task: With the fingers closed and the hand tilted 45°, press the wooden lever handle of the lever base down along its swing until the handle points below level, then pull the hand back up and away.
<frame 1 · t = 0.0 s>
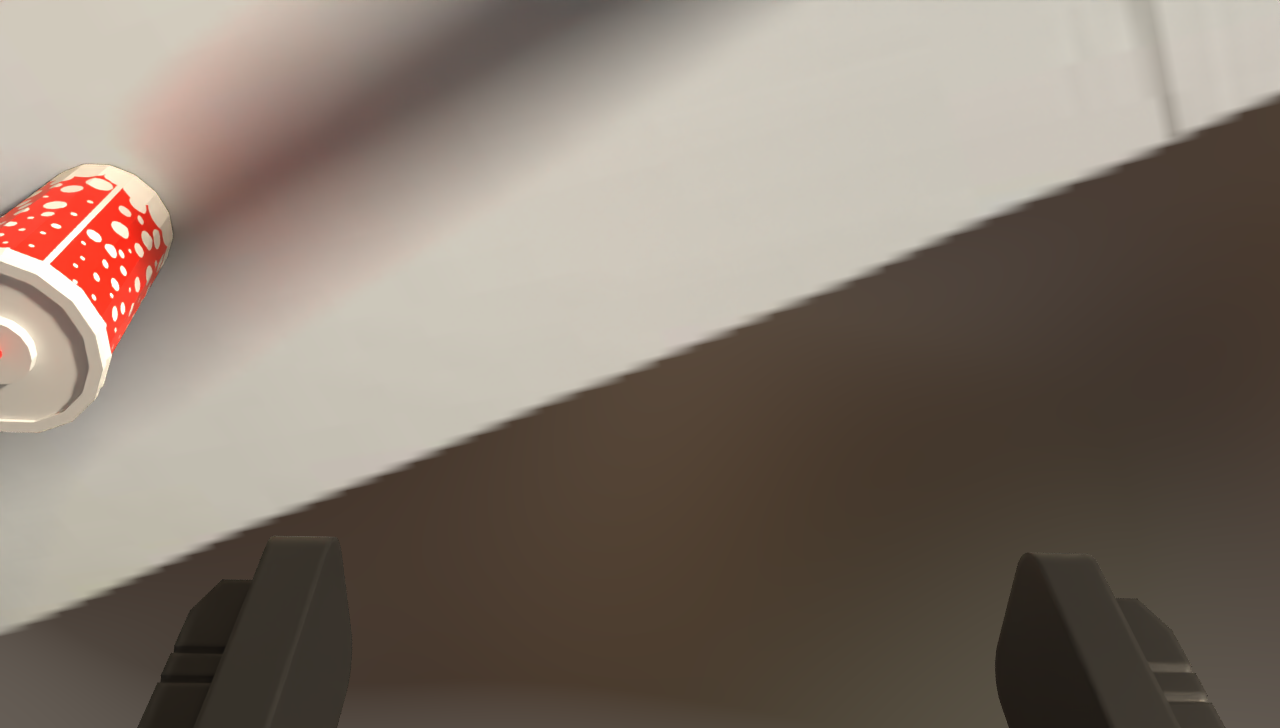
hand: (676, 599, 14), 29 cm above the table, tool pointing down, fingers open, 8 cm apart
beverage cup: (110, 220, 44), on the table
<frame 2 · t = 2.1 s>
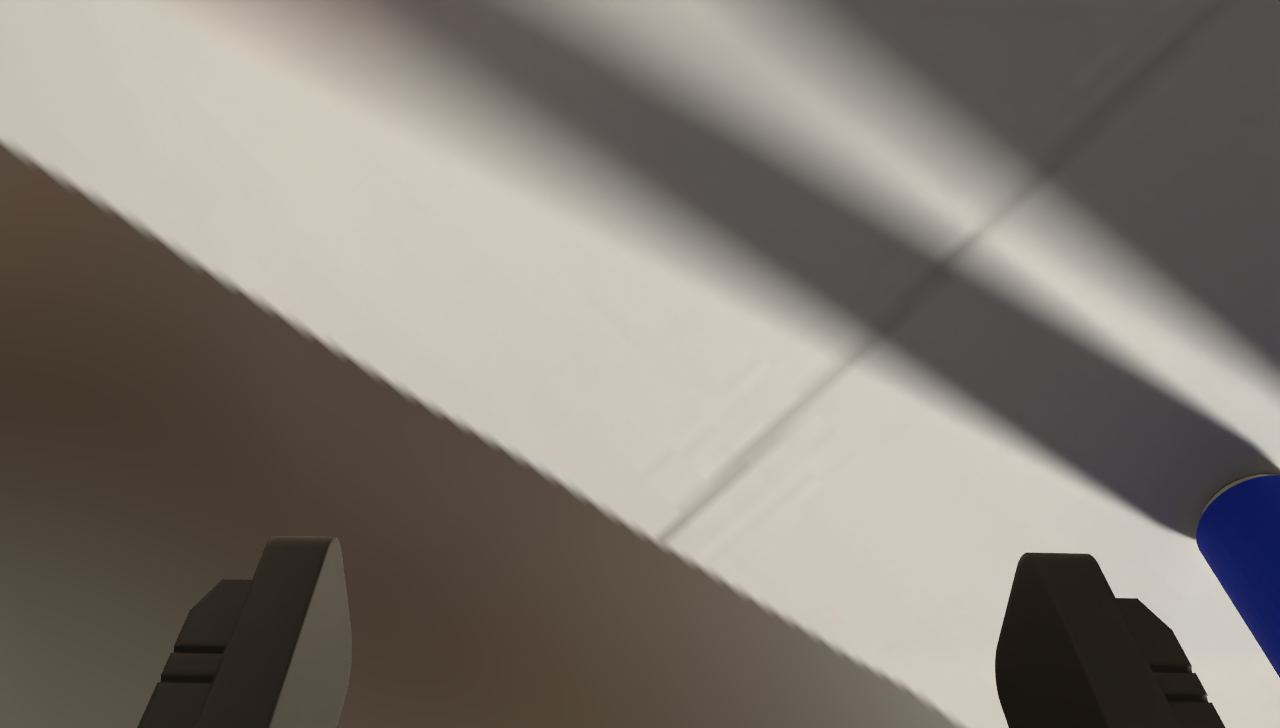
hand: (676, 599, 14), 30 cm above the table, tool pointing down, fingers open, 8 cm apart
beverage can: (1249, 512, 52), on the table
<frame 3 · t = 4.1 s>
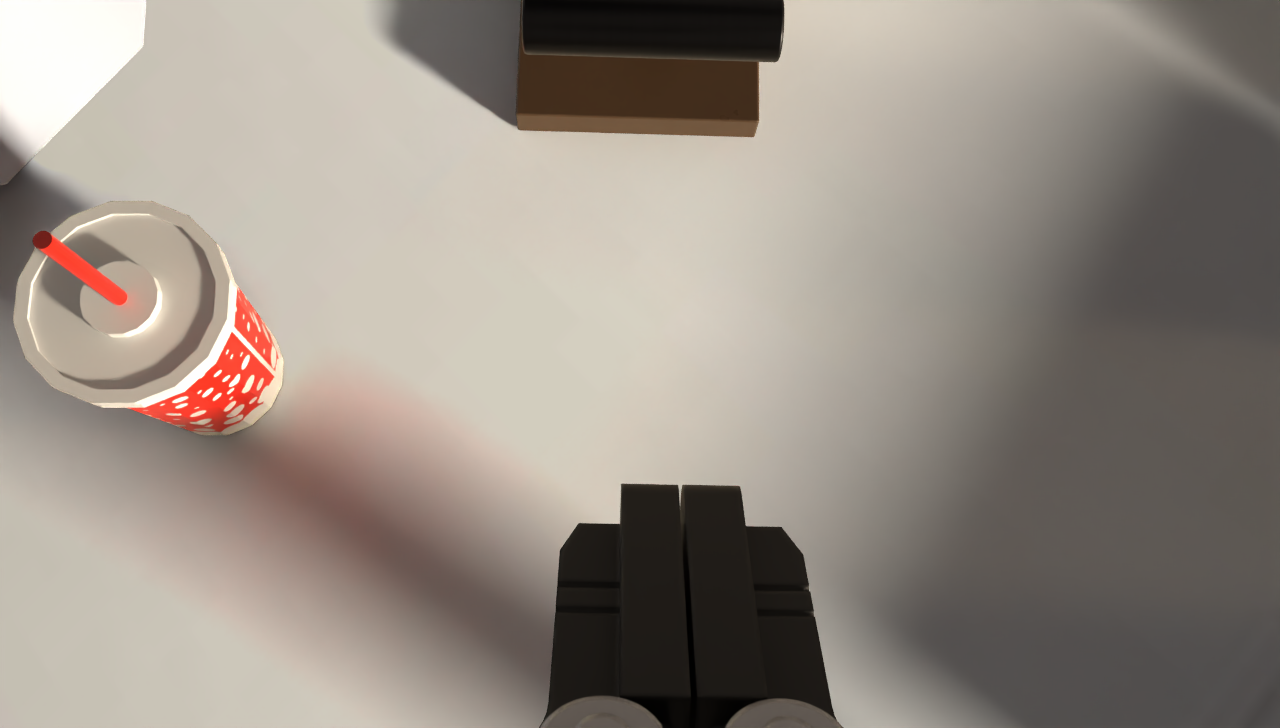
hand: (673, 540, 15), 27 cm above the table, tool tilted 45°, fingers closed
beverage cup: (221, 374, 43), on the table
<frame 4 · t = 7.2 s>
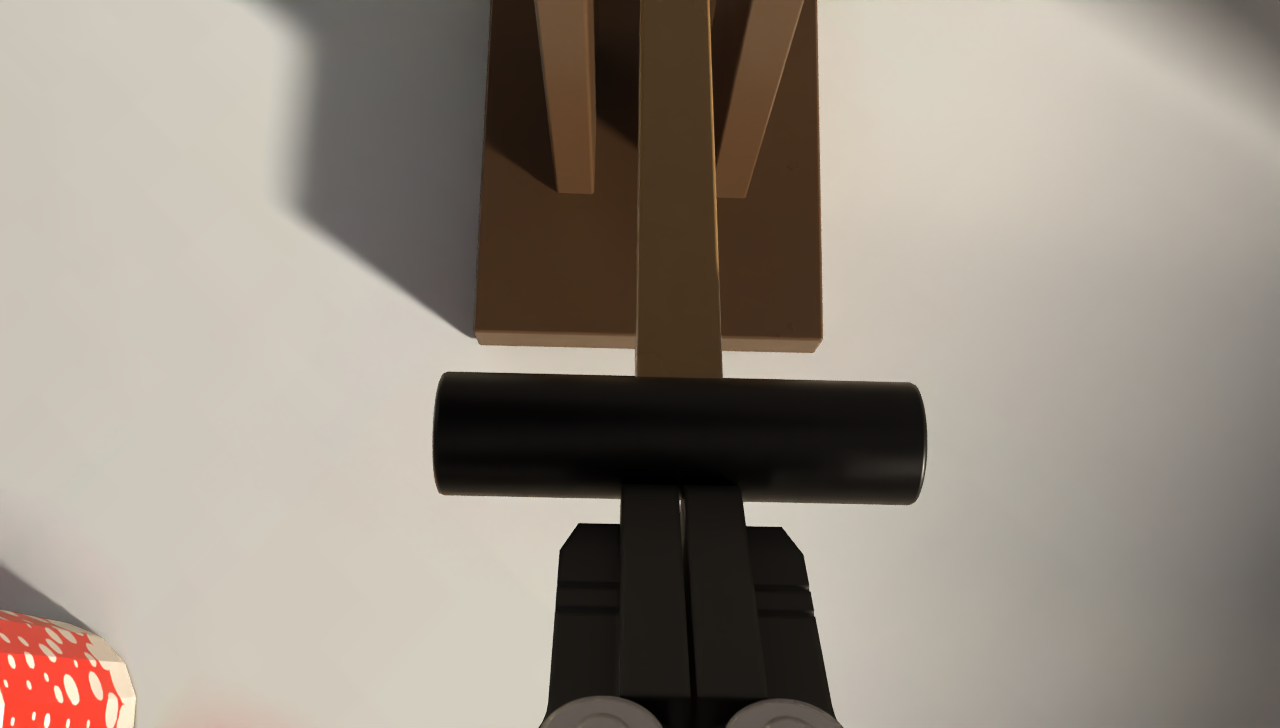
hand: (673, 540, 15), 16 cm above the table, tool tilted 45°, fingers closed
wooden lever handle: (674, 89, 19), point 14 cm above the table, hinge at 20.3°, touching gripper
lever base: (650, 141, 34), on the table
beverage cup: (45, 716, 30), on the table
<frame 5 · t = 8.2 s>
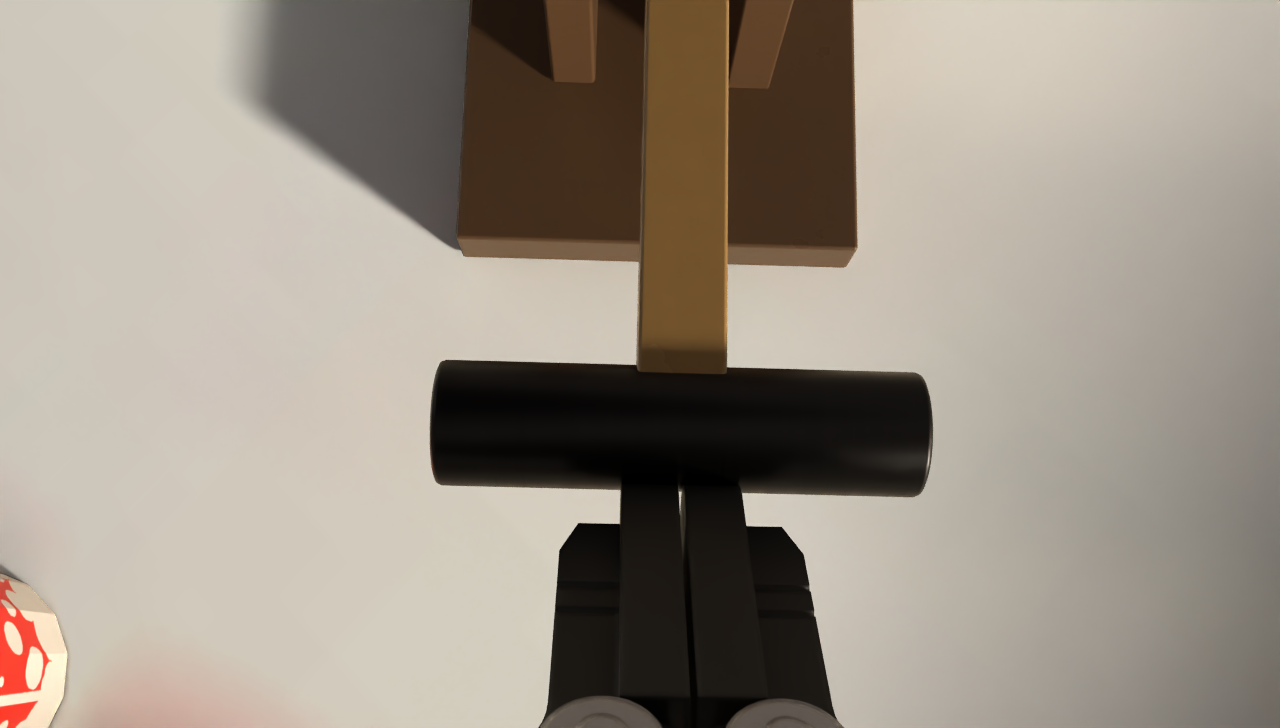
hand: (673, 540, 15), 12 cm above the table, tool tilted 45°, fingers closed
lever base: (660, 29, 30), on the table
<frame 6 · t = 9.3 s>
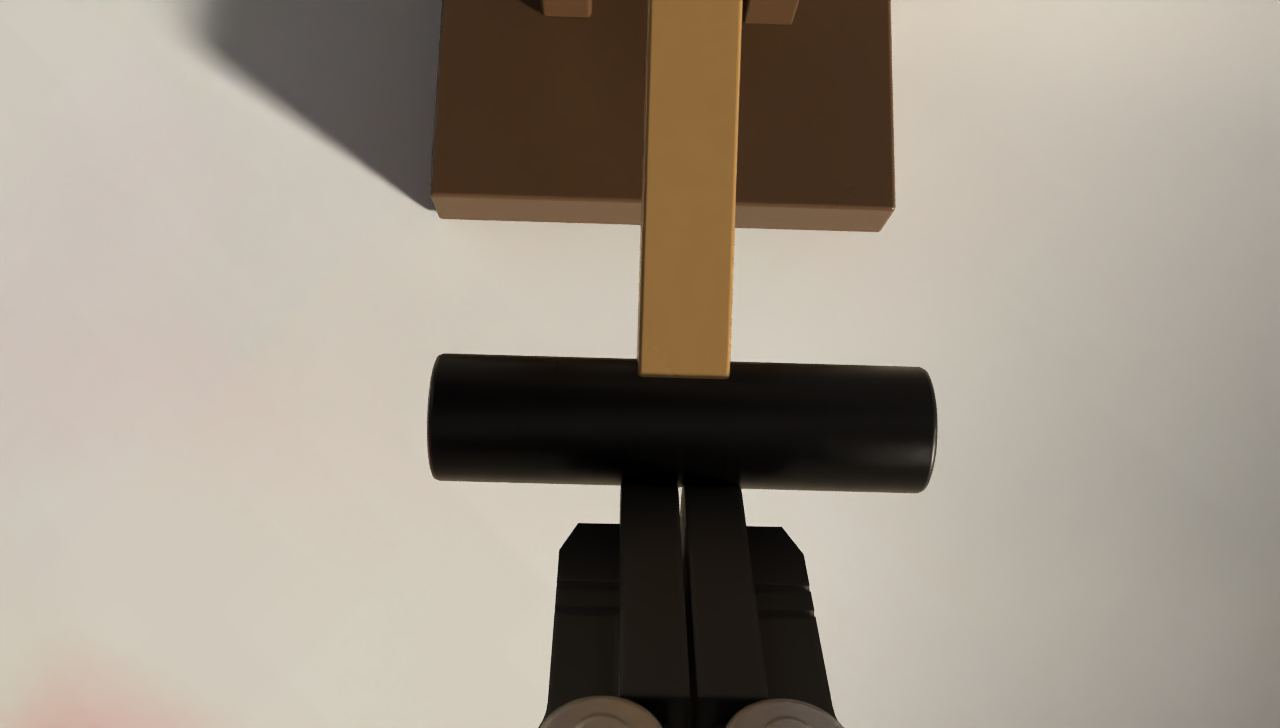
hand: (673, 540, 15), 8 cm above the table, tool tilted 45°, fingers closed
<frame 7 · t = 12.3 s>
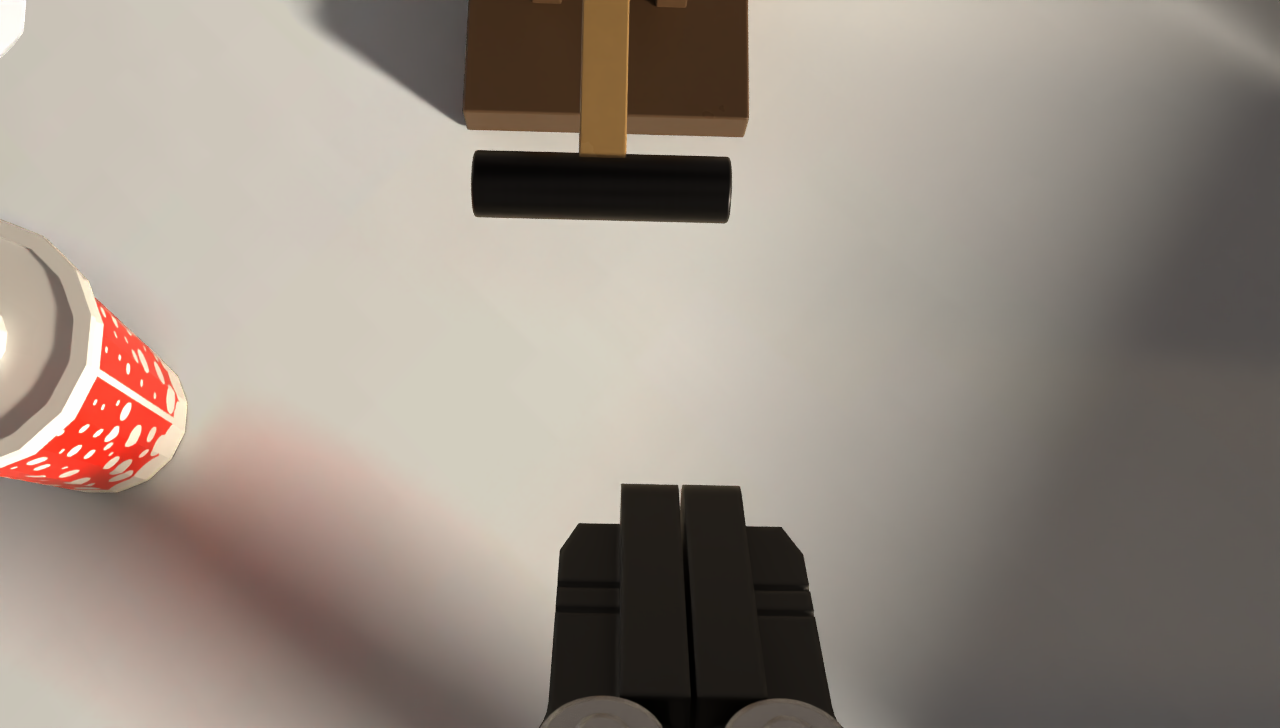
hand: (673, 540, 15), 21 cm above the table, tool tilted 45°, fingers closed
beverage cup: (113, 419, 37), on the table
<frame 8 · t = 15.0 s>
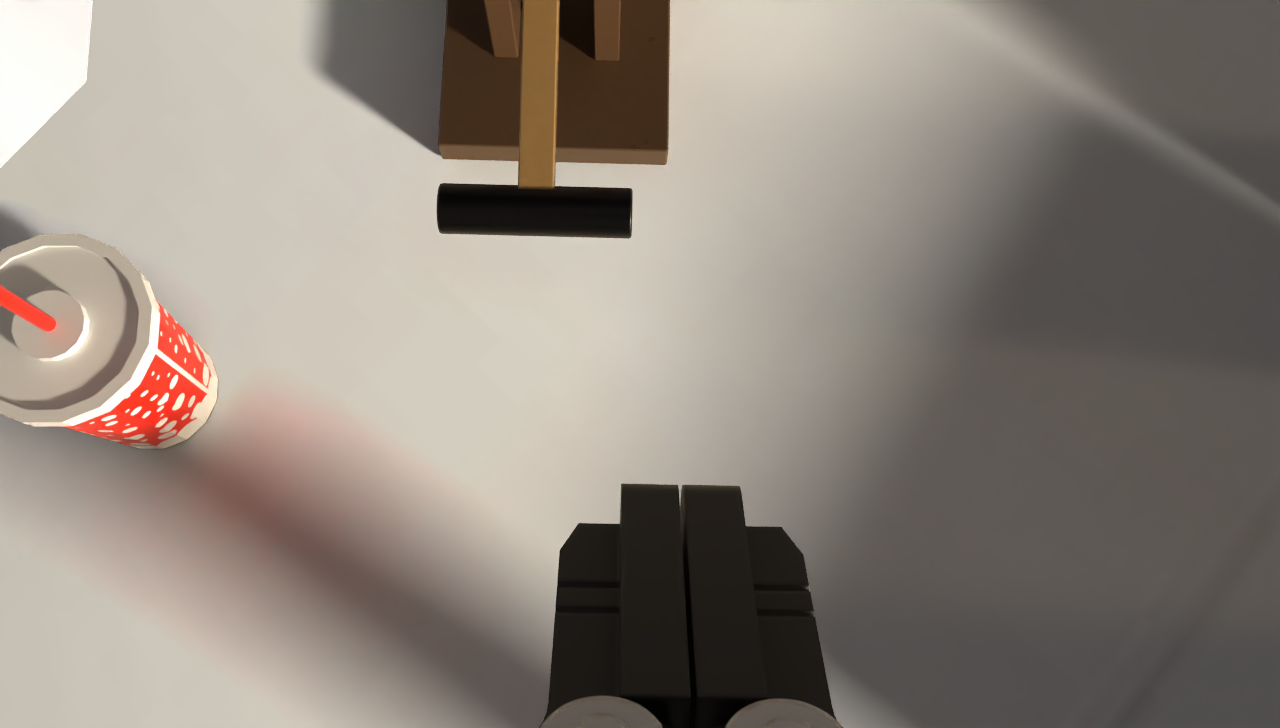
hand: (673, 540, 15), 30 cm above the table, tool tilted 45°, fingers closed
wooden lever handle: (541, 12, 38), point 11 cm above the table, hinge at -11.7°
lever base: (559, 27, 50), on the table
beverage cup: (159, 391, 46), on the table
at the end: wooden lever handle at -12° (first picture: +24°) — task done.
